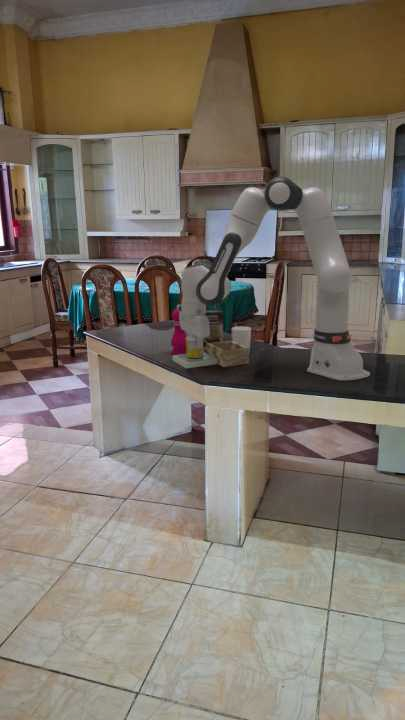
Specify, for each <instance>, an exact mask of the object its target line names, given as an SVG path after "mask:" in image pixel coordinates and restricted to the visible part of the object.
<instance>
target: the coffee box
mask: <svg viewBox="0 0 405 720" xmlns="http://www.w3.org/2000/svg"><path fill="white" fill-rule="evenodd" d="M205 315H206V316H207V317H208V320H209V328H210V335H209V337H205V338H203V350H204V351H207V343H215V342H224V312H223V310H222V309H217V310H215V309H214V310H211V309H209V310H208V309H207V310H206V313H205Z"/></svg>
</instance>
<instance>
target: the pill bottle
mask: <svg viewBox="0 0 405 720" xmlns="http://www.w3.org/2000/svg"><path fill="white" fill-rule="evenodd" d="M188 334H189V335H188V336H187V335H186V336H187V337H186V349H187V359H188V360H190V361H198V360H202V359H203V358H204V353H205V350H203V341H202V347H199V348H198V347H197V346H196V342H197V336H196V335H194V334H192V330H189V329H188Z"/></svg>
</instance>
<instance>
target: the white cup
mask: <svg viewBox="0 0 405 720" xmlns="http://www.w3.org/2000/svg"><path fill="white" fill-rule="evenodd" d="M251 335H252V327H250V326H234V327H231V341H233V342H235V343H238V344H240V345H243V346H245V347H247V348H249V353H250V351H251V350H250V347H251V337H252V336H251Z"/></svg>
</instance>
